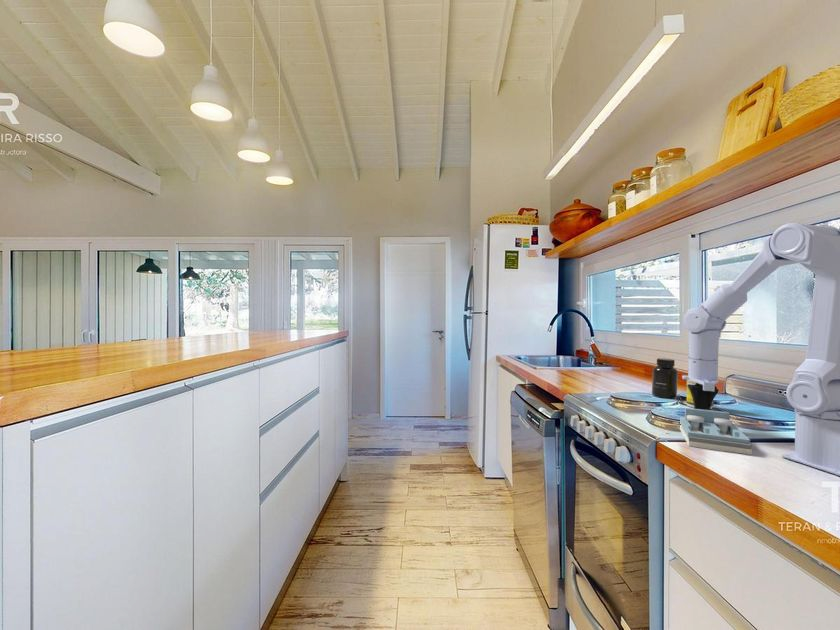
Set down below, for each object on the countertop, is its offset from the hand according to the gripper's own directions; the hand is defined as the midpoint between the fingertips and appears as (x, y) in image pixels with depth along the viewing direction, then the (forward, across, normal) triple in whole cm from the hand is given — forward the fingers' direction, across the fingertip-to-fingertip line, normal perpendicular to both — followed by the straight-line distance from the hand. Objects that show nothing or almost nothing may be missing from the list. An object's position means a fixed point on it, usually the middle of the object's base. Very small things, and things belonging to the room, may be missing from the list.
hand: (701, 415), depth 93 cm
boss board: (+2, +8, 0) cm, 8 cm away
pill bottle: (+3, -22, +3) cm, 22 cm away
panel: (+1, +11, 0) cm, 11 cm away
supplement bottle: (+3, -33, -4) cm, 34 cm away
